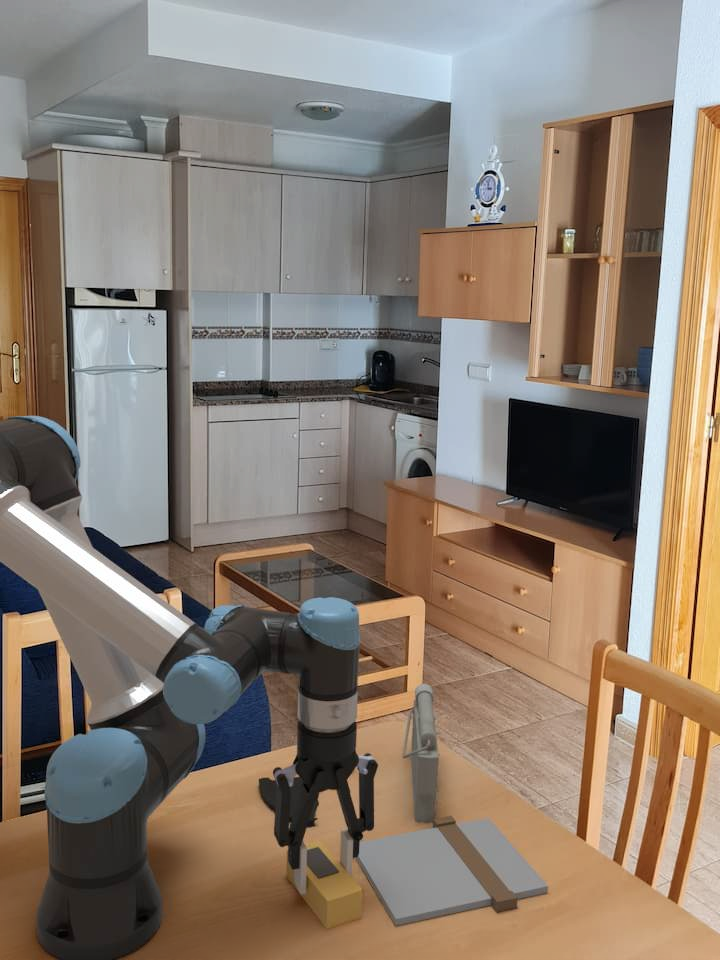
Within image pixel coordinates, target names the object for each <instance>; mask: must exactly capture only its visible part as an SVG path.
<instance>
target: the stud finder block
mask: <svg viewBox="0 0 720 960" xmlns="http://www.w3.org/2000/svg"><path fill="white" fill-rule="evenodd" d="M305 846H306V848H307V868H306V894H301V895H300V896H301V898H302V899H303V900H304V901H305V902H306V904H307V905H308V907H309V908H310V909H311V911H312V912H313V913H314V914H315V915H316V917H317V918H318V919H319V921H320V922H321V923H322V925H323V926H324V928H325V929H326V930H329V929H331V928H332V929H333V928H335V927H338V926H340V925H343V924H346V923H350V922H352V921H354V920H358V919H360V918H362V916H363V914H362V912H363V893H364V892H363V891H364V889H362V887H361V885H359V884H358V882H357V881H356V880H355V879H354V878H353V876H352V877H351V876H350V875H349V874H348V872H347V871H346V870H345V869H344V868H343V867H342V865H341V864H340V861H338V860H337V858H336V857H335V856H334V855H333V853H331V851H330V850H329V849H328V848H327V847H326V846H325V845H324V843H323V842H322V841H321V840H317V841H314V842H309V843H306V844H305ZM285 869H286V871H285V872H286V875H285V876H286V878H287V879H288V881H290V883H291V884H292V885H293V887H294V888H295V889H296V891H297V892H298V893H299V891H298V888H297V886H296V884H295V869H294V870H292V868H291V866H290V864H289V862H288V849H286V868H285Z"/></svg>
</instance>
